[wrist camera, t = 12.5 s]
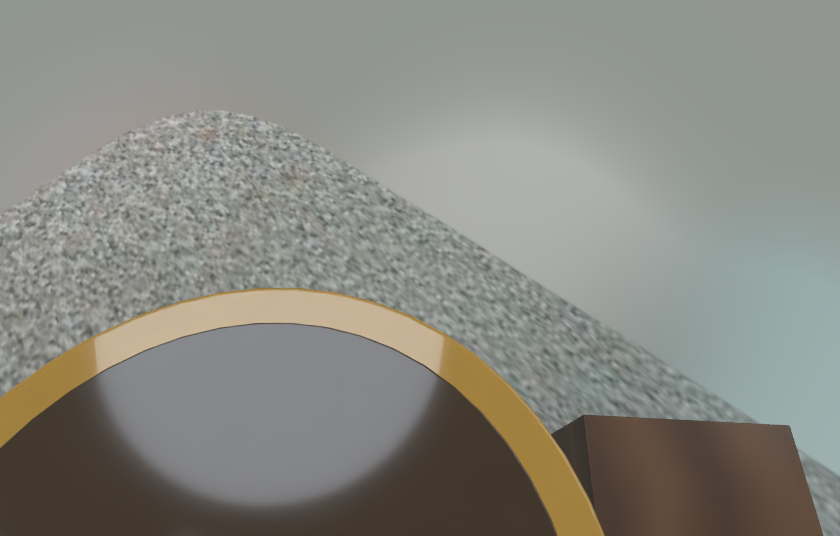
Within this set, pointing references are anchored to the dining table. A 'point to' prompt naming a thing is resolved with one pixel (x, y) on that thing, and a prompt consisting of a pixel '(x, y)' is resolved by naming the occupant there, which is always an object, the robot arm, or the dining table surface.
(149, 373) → the tumbler
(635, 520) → the shelf
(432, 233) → the dining table surface
